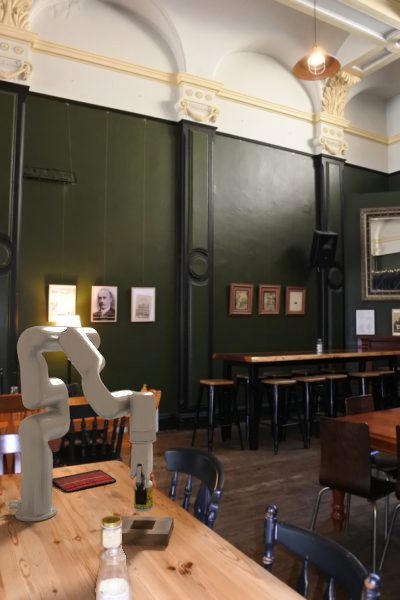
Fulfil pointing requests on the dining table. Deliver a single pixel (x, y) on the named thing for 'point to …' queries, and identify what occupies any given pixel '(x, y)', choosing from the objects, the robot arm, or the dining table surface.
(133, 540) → the socket block
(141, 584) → the dining table surface
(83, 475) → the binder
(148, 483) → the supplement bottle
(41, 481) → the robot arm
